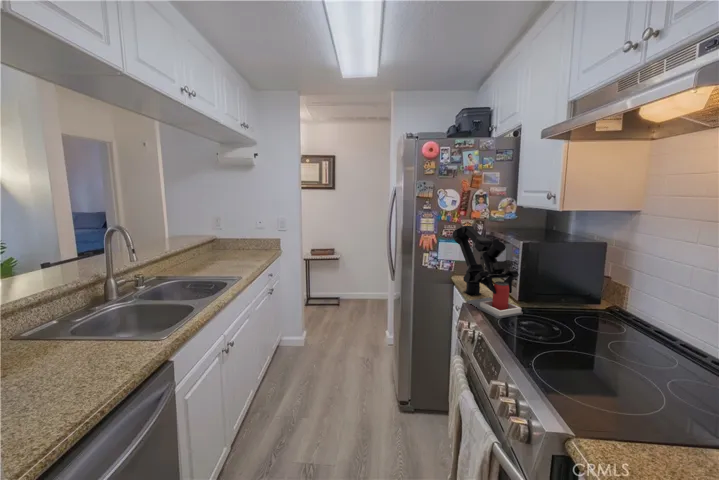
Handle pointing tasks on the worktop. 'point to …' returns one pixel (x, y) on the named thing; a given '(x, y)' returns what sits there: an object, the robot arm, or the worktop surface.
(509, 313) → the plate
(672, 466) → the worktop surface
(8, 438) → the worktop surface
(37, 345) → the worktop surface
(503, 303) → the beer can
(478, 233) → the robot arm
